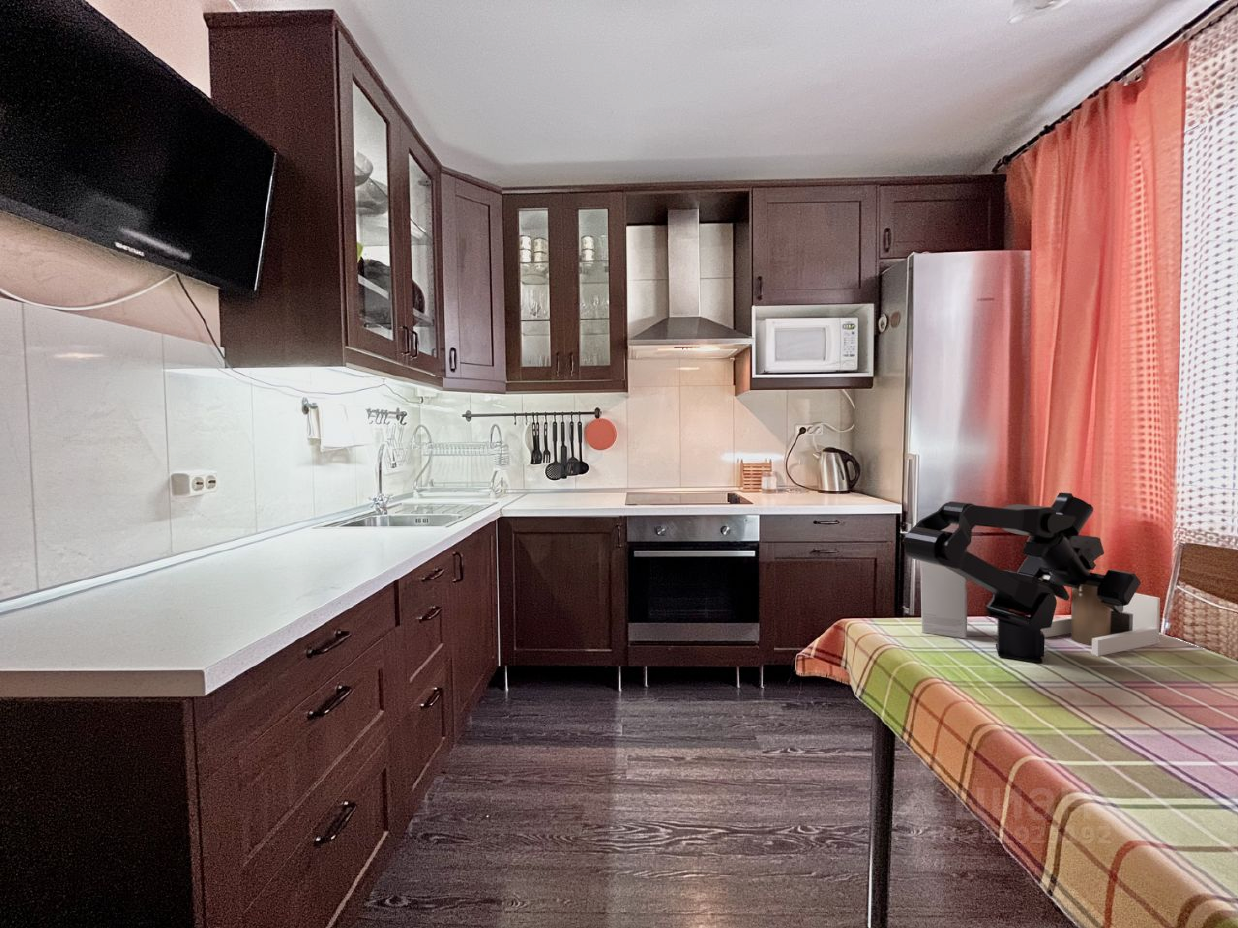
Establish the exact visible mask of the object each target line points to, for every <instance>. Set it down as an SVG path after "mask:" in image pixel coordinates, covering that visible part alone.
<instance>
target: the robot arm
mask: <svg viewBox="0 0 1238 928" xmlns="http://www.w3.org/2000/svg"><path fill="white" fill-rule="evenodd" d="M1093 512H1094V507H1093V506H1092V505H1091V503H1088V502H1086V501H1085V500H1084V499H1082V498H1078V497H1076V496H1074V495H1073V494H1072V493H1071V492H1059V493H1058V495H1056V498H1055V501H1054V502H1053V504H1052V505H1051V506H1043V505H1042V506H1041V505H1031V504H1030V505H1029V504H1019V503H1016V504H1008V505H1005V506H1004V507H996V506H986V505H985V506H984V505H976V504H974V503H971V502H961V501H948V502H945V503H944V504H942V506H941V507H940V508H939V509H938V510H937V511H935V512H933V513H931V514H930V515H928V516H925V517H924V518H922V519H920V520H919V521H918V522H917V523H916V524H915V525H914V526H913V527H912V528H910V530H909V531H908V532H907V533H906V535H905V536H904V539H903V546H904V553H905V555H906V556H907V557H908V558H910V559H913V560H916V561H919V562H920V561H923V562H927V563H931V564H935V565H939V566H943V567H946V568H947V569H949V570H951V571H953V572H955V573H957V574H959V575H961V576H962V577H964V578H966V580H968V581H970V582H972V583H974V584H976V585H977V586H979V587H981V588H983V589H985V590H987V591H989V592H991V593H992V594H993V596H992V598H991V599H990V601H989V602H988V604H987V605H986V607H985V609H986V612H987V616H988V617H989V618H991V619H993V618H994V619H996V620H997V629H996V630H997V637H996V638H997V639H996V641H997V642H996V644H995V648H996V651H997V656H998V657H1000V658H1005V659H1013V660H1018V661H1026V662H1030V663H1031V662H1032V663H1038V664H1039V663H1040V664H1042V663H1043V658H1044V657H1045V639H1046V638H1045V636H1044V634H1043V632H1042V631H1041V629H1045V628H1050V627H1051V625H1052V621H1053V619H1054V616H1055V613H1056V609H1057V606H1058V605H1057V604H1058V601H1057V599H1061V600H1063V601H1066V602H1068V601H1069V599H1070V597H1071V596H1070V595H1069V593H1068V591H1067V589H1066V588H1065V587H1068V588H1071V589H1072V588H1076V589H1078V588H1079V587H1080V585H1082V584H1087V585H1092V586H1096V587H1098V588H1097V596H1098V597H1099V599H1101V600H1102V601H1101V602H1102V603H1103V604H1105V605H1106V606H1108V607H1109V608H1111V609H1112V610H1114V611H1115V612H1117V613H1120V614H1121V613H1122V611H1123V606H1125V605H1128V604H1129V602H1130V601H1131V599H1132V597H1133V596H1134V594H1135V593H1137V591H1138V589H1139V587H1140V585H1141V584H1142V583H1141V580H1140V579H1139V577H1138V576H1137V575H1136V573H1133V572H1129V571H1123V570H1118V569H1108V570H1107V571H1106V573H1105V574H1101V573H1096V572H1092V571H1093V570H1095V567H1096V566H1097V564H1096V563H1095V562H1094V561H1096V560H1097V559H1098V558H1100V557H1101V556H1103V555H1104V554H1105V551H1104V547H1103V544H1102V541H1101V538H1100V537H1096V536H1090V535H1081V534H1080V533H1081V531H1082V530H1083V528H1084V527H1085V525H1086V523H1087V522H1088V521H1089V520H1090V519H1089V518H1090V517H1091V516H1092V514H1093ZM951 525H957V526H958V527H957V528H956V529H955V530H954V532H951V531H945V530H944V529H946V528H948V527H950V526H951ZM976 526H977V527H986V528H987V527H988V528H999V529H1003V531H1006V532H1008V533H1012V534H1016V535H1021V536H1029V537H1028V538H1027V540H1026V541H1025V546H1024V547H1023V548H1022V555H1023V556H1027V557H1026V558H1025V560H1024V561H1023V562H1022V564H1021V565H1020V567H1019V569H1018V570H1017V571H1013V570H1008V569H1003V570H1002V569H1000V568H998V567H997V566H995V565H993V564H991V563H989V562H987V561H985V560H984V559H982V558H981V557H979V556H977V555H975V554H973V553H971V552H969V550H968V547H969V546H970V545H971V543H972V537H973V535H972V532H973V529H974V528H975V527H976ZM1091 570H1092V571H1091ZM1090 571H1091V572H1090ZM1011 610H1012V611H1011ZM1026 614H1027V615H1026ZM1029 615H1030V616H1029Z"/></svg>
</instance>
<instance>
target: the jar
mask: <svg viewBox="0 0 1238 928" xmlns="http://www.w3.org/2000/svg"><path fill="white" fill-rule="evenodd" d="M1097 588H1098V587H1096V586H1092V585H1087V584H1082V585H1080V587H1079V588H1078V589H1076V588H1072V587H1071V605H1070V606H1071V609H1070V610H1071V612H1070V613H1071V614H1070V616H1071V633H1070V640H1072V641H1074V642H1076V643H1079V644H1082V645H1087V646H1091V647H1092V638H1096V637H1102V636H1107V635H1111V608H1109V607H1108V606H1106V605H1105V604H1103V603H1102V602H1101V601H1102V600H1101V599H1099V597H1098V596H1097Z"/></svg>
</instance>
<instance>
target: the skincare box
mask: <svg viewBox="0 0 1238 928" xmlns="http://www.w3.org/2000/svg"><path fill="white" fill-rule="evenodd" d="M919 562H920V563H919V565H920V566H919V567H920V605H921V606H920V609H921V610H920V612H921V617H920V618H921V633H923V634H932V635H939V636H945V637H954V638H961V639H967V636H968V596H967V595H968V593H967V592H968V591H967V579H966V578H964V577H962V576H961V575H959V574H957V573H955V572H953V571H951V570H949V569H947V568H946V567H943V566H939V565H935V564H931V563H927V562H923V561H920V560H919Z"/></svg>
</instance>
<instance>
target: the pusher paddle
mask: <svg viewBox="0 0 1238 928" xmlns="http://www.w3.org/2000/svg"><path fill="white" fill-rule="evenodd" d="M1128 631H1133V614H1131V613H1126V612H1122V613H1121V614H1120V613H1117V612H1115V611H1114V610H1112V609H1111V635H1112V634H1118V633H1123V632H1128Z"/></svg>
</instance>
